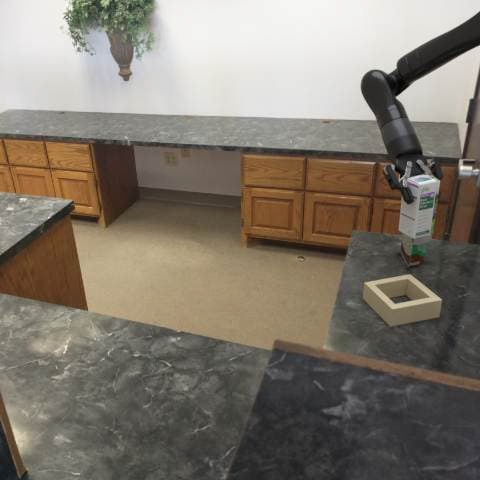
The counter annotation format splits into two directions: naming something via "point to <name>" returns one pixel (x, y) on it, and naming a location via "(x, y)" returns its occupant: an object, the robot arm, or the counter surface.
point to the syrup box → (420, 207)
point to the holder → (406, 312)
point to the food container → (414, 249)
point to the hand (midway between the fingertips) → (424, 200)
